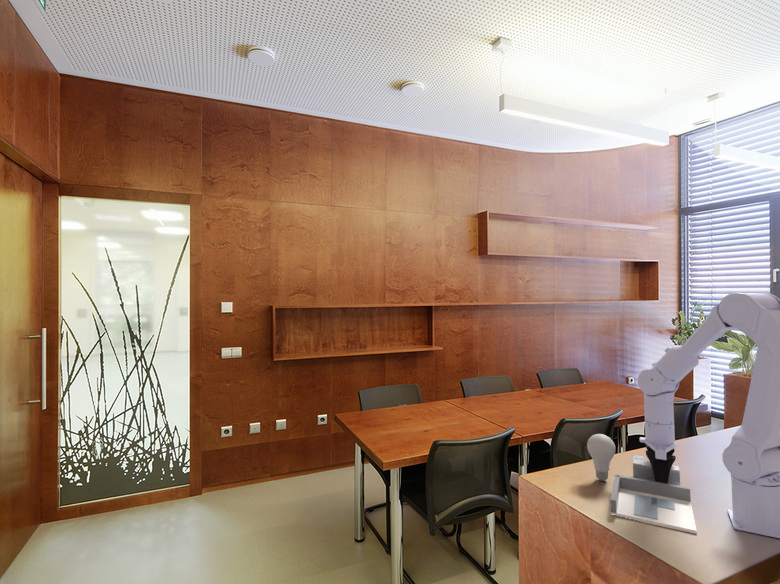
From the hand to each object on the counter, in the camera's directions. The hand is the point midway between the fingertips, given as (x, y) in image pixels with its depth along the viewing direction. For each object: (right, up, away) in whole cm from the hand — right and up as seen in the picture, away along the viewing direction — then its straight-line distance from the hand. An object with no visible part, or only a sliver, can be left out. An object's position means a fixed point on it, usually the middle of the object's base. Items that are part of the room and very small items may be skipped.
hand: (661, 481), depth 96 cm
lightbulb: (-12, -2, +4) cm, 12 cm away
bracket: (0, -2, +2) cm, 2 cm away
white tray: (-8, -1, -10) cm, 13 cm away
